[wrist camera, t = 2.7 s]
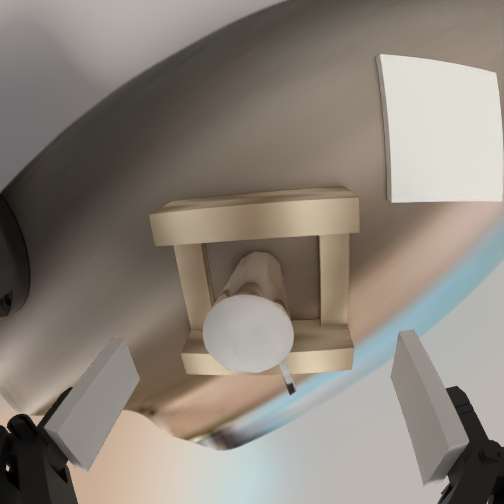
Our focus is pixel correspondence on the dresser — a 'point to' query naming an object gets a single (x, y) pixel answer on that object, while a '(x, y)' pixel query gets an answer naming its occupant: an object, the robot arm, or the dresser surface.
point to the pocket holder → (262, 227)
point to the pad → (440, 131)
